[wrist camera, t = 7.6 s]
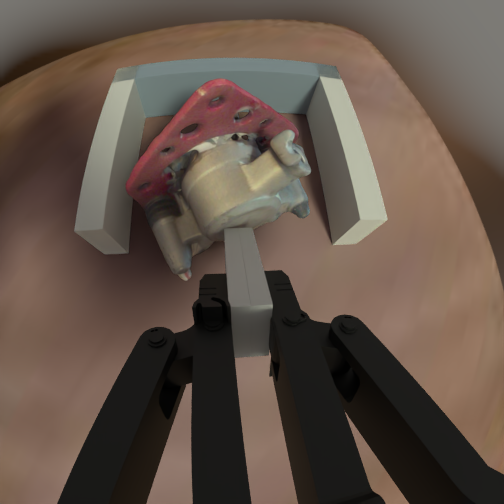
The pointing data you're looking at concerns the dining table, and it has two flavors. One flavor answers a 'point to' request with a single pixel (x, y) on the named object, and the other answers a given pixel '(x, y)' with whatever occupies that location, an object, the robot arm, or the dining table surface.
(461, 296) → the dining table surface
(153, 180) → the brake caliper
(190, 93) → the cradle
